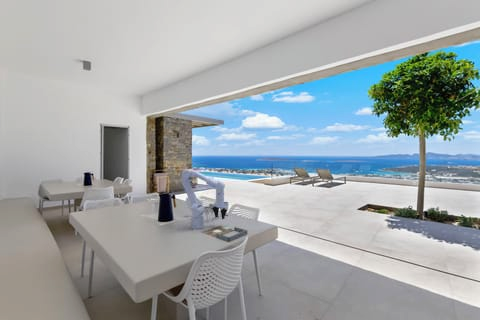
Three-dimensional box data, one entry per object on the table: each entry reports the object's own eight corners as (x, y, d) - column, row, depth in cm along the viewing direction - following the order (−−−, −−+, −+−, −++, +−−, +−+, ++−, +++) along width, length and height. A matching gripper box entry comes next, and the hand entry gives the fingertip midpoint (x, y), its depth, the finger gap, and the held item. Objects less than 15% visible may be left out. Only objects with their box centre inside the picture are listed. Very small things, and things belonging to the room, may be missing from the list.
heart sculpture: (203, 219, 190) (203, 197, 189) (199, 220, 186) (199, 198, 185) (189, 216, 198) (189, 195, 197) (185, 217, 193) (185, 196, 193)
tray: (216, 239, 145) (216, 233, 145) (235, 231, 159) (235, 226, 159) (228, 243, 138) (228, 237, 138) (247, 235, 152) (247, 230, 152)
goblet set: (207, 223, 178) (207, 206, 178) (202, 222, 181) (202, 205, 181) (229, 215, 201) (229, 200, 200) (224, 214, 204) (224, 200, 204)
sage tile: (222, 230, 158) (222, 227, 158) (226, 229, 162) (226, 226, 162) (226, 232, 155) (227, 229, 155) (231, 230, 159) (231, 227, 159)
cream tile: (212, 234, 151) (212, 231, 151) (217, 232, 155) (217, 229, 155) (217, 235, 148) (217, 232, 148) (222, 233, 152) (222, 230, 152)
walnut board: (200, 233, 155) (200, 232, 155) (219, 227, 169) (219, 225, 169) (216, 239, 145) (216, 237, 145) (235, 231, 159) (235, 230, 159)
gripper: (231, 199, 161) (231, 218, 161) (216, 197, 170) (216, 215, 171) (224, 201, 155) (224, 221, 156) (209, 198, 165) (209, 217, 165)
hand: (219, 218), depth 163 cm, fingers open, 6 cm apart
